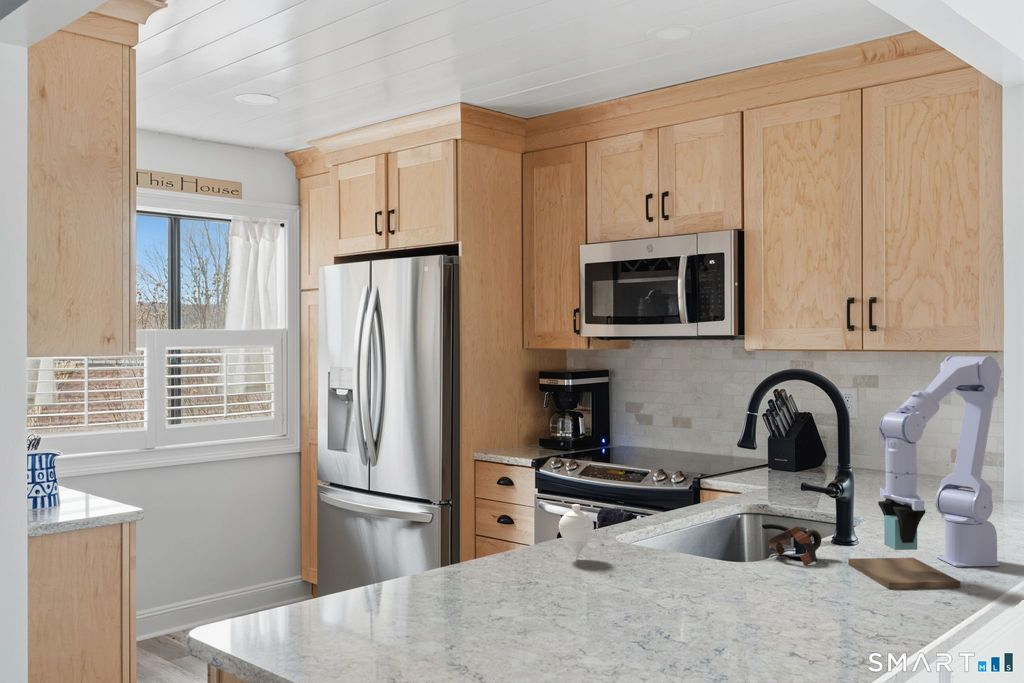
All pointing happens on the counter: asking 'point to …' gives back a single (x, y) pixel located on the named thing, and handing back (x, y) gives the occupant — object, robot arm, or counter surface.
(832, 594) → the counter surface
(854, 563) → the walnut board
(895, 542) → the teal block
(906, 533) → the robot arm
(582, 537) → the spinning top
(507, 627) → the counter surface
